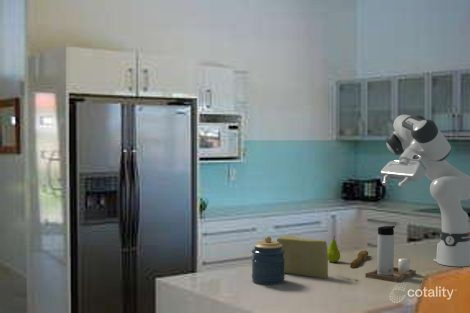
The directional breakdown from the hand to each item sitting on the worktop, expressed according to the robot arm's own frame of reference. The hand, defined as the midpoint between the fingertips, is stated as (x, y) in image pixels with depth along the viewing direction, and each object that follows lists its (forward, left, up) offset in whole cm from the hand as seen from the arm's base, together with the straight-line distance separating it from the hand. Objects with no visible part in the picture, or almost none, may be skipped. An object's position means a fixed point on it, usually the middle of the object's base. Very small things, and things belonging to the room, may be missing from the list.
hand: (391, 185), depth 246 cm
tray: (+5, +2, -37) cm, 37 cm away
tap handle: (-17, -23, -37) cm, 47 cm away
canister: (+39, -33, -37) cm, 63 cm away
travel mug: (+8, +1, -35) cm, 36 cm away
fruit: (-9, -32, -37) cm, 50 cm away
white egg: (0, +5, -35) cm, 36 cm away
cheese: (+20, -29, -37) cm, 51 cm away
